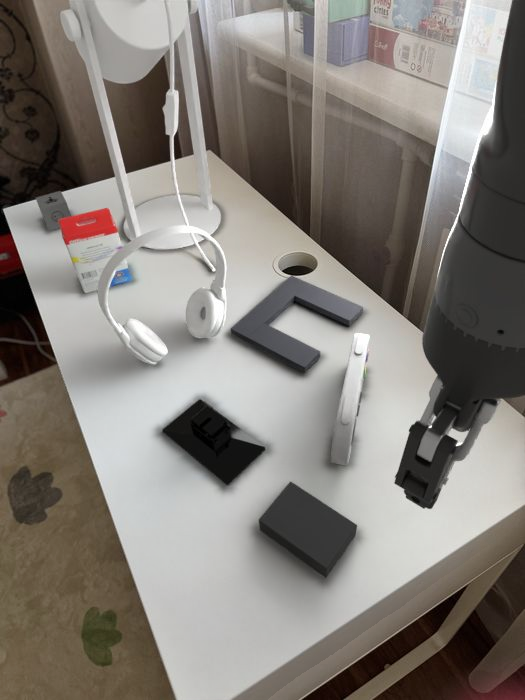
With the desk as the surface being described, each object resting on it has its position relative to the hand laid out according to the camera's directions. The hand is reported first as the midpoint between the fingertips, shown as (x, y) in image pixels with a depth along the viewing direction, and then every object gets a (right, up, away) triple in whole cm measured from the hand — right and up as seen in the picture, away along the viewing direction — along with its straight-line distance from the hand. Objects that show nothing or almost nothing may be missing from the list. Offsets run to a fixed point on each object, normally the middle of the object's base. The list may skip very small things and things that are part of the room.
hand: (445, 457), depth 41 cm
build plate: (-20, -4, +29) cm, 36 cm away
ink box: (-41, +20, +54) cm, 71 cm away
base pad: (-8, +12, +44) cm, 46 cm away
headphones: (-27, +9, +42) cm, 50 cm away
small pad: (-9, -12, +20) cm, 25 cm away
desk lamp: (-30, +32, +64) cm, 78 cm away
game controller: (-2, -1, +31) cm, 31 cm away
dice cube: (-55, +34, +68) cm, 94 cm away
